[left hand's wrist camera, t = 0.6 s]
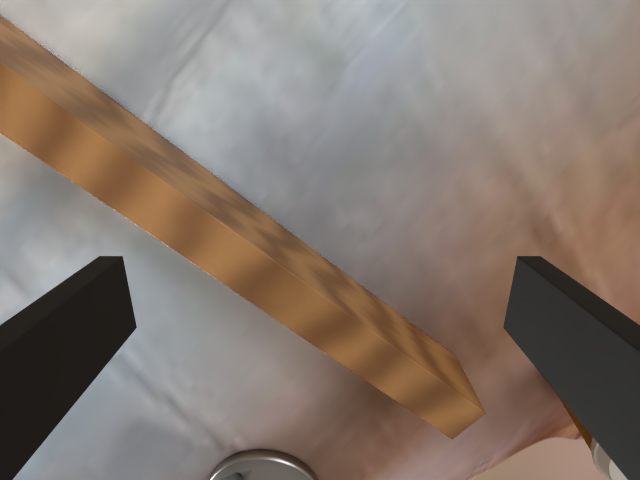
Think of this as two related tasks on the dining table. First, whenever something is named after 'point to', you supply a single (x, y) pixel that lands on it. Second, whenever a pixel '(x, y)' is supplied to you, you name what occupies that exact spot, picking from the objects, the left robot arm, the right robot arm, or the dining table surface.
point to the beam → (221, 232)
